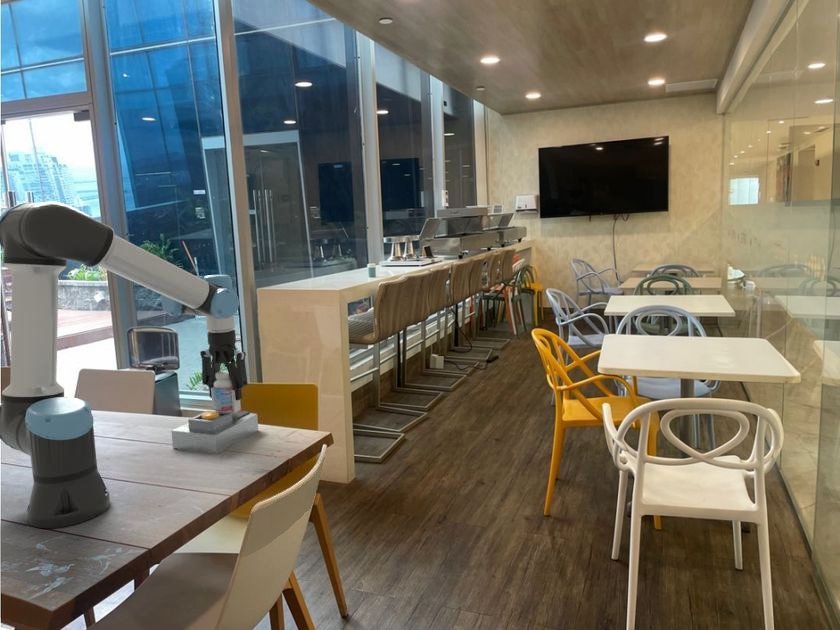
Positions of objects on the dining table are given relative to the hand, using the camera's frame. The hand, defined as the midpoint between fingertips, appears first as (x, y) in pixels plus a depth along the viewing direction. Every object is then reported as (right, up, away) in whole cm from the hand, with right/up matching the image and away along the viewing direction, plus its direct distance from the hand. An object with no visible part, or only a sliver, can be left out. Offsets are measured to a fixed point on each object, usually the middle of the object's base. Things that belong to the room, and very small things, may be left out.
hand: (226, 409), depth 175 cm
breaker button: (-1, -7, -8) cm, 11 cm away
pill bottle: (0, 0, 0) cm, 1 cm away
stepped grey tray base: (-2, -8, -4) cm, 9 cm away
